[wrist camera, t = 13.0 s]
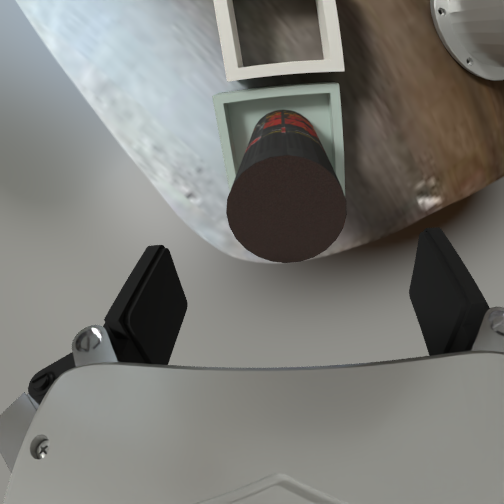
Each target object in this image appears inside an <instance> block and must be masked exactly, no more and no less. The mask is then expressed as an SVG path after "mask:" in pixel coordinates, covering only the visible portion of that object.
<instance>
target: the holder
mask: <svg viewBox="0 0 504 504" xmlns="http://www.w3.org/2000/svg"><path fill="white" fill-rule="evenodd" d="M213 1H214V7H215V13H216V19H217V24H218V30H219V36H220V42H221V48H222V54H223V60H224V66H225V72H226V78H227V82H229V81H235V80H242V79H250V78H257V77H266V76H275V75H286V74H298V73H313V72H339V71H345V69H344V60H343V51H342V43H341V36H340V28H339V21H338V15H337V8H336V2H335V0H315V1H316V7H317V13H318V20H319V26H320V33H321V40H322V48H323V56H324V60H312V61H296V62H284V63H274V64H265V65H256V66H249V67H243V61H242V55H241V49H240V43H239V37H238V31H237V25H236V19H235V13H234V7H233V1H232V0H213Z"/></svg>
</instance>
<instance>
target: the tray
mask: <svg viewBox="0 0 504 504" xmlns="http://www.w3.org/2000/svg"><path fill="white" fill-rule="evenodd" d="M212 97H213V103H214V108H215V114H216V119H217V125H218V130H219V136H220V141H221V147H222V152H223V158H224V163H225V168H226V174H227V179H228V185H229V190H230V191H231V188H232V185H233V182H234V180H235V177H236V174H237V172H238V169H239V167H240V164H241V161H242V159H243V156H244V153H245V151H246V148H247V146H248V143H249V141H250V138H251V135H252V133H253V130H254V128H255V125H256V124H257V123H258V121H259V120H260V119H261V118H262V117H263V116H265V115H266V114H268V113H270V112H273V111H275V110H283V109H284V110H292V111H295V112H297V113H300V114H301V115H303V116H304V117H305V118H307V119H308V121H309V122H310V123H311V124H312V126H313V128H314V130H315V132H316V134H317V136H318V138H319V140H320V142H321V144H322V146H323V148H324V150H325V152H326V154H327V156H328V158H329V161H330V163H331V165H332V167H333V169H334V171H335V173H336V176H337V178H338V180H339V182H340V185H341V187H342V190H343V193H344V196H345V171H344V146H343V128H342V113H341V101H340V89H339V83H336V82H318V83H301V84H289V85H278V86H268V87H260V88H251V89H244V90H237V91H230V92H224V93H218V94H216V95H214V96H212Z"/></svg>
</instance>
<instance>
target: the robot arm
mask: <svg viewBox="0 0 504 504" xmlns="http://www.w3.org/2000/svg"><path fill="white" fill-rule="evenodd" d="M430 5H431V14H432V18H433V22H434V26H435V28H436V30H437V33H438V35H439V37H440V39H441V41H442V42H443V44H444V46H445V48H446V49H447V50H448V52H449V53H450V54H451V56H452V57H453V58H454V59H455V60H456V61H457V62H458V63H459V64H460V65H461V66H462V67H464V68H465V69H466V70H467V71H469V72H470V73H472V74H474V75H476V76H478V77H481V78H484V79H489V80H494V81H498V80H504V0H430ZM438 11H439V12H440V14H439V12H438ZM409 294H410V299H411V301H412V304H413V307H414V310H415V313H416V316H417V319H418V322H419V324H420V327H421V330H422V333H423V336H424V339H425V343H426V346H427V349H428V352H429V355H430V356H424V357H416V358H407V359H399V360H390V361H380V362H370V363H359V364H345V365H330V366H312V367H284V368H283V367H281V368H225V367H195V366H176V365H168V362H169V359H170V357H171V354H172V351H173V348H174V345H175V342H176V339H177V336H178V333H179V330H180V327H181V324H182V322H183V319H184V316H185V313H186V310H187V300H186V297H185V294H184V291H183V289H182V286H181V283H180V280H179V277H178V275H177V272H176V269H175V266H174V263H173V260H172V257H171V254H170V251H169V250H168V249H167V248H165V247H164V246H163V245H154V246H148V247H147V248H146V250H145V252H144V253H143V255H142V256H141V258H140V260H139V261H138V263H137V264H136V266H135V268H134V269H133V271H132V273H131V274H130V276H129V277H128V279H127V281H126V282H125V284H124V286H123V288H122V289H121V291H120V293H119V294H118V296H117V298H116V300H115V301H114V303H113V305H112V306H111V308H110V310H109V312H108V314H107V315H106V317H105V319H104V320H105V324H104V326H103V327H102V326H100V325H91V326H88V327H86V328H84V329H83V330H81V331H80V332H79V333H78V334H77V335H76V336H75V338H74V340H73V342H72V353H70V354H69V355H67V356H65V357H63V358H61V359H60V360H58V361H56V362H54V363H53V364H51V365H49V366H48V367H46V368H44V369H42V370H41V371H39V372H38V373H37V374H35V375H34V377H33V378H32V379H31V381H30V383H29V387H28V392H29V393H28V394H25V392H24V393H23V394H22V395H21V396H20V397H19V398H18V399H16V401H14V402H13V403H12V404H11V405H10V406H9V407H8V408H7V409H6V410H5V411H4V412H3V413H2V414H1V415H0V453H1V454H2V456H3V458H4V460H5V462H6V464H7V466H8V468H9V470H10V471H11V473H12V474H11V477H10V480H9V484H8V487H7V491H6V494H5V498H4V502H3V504H504V308H502V307H493V308H489V306H488V304H487V302H486V300H485V298H484V297H483V295H482V293H481V291H480V290H479V288H478V286H477V284H476V283H475V281H474V279H473V278H472V276H471V274H470V273H469V272H468V269H467V268H466V266H465V265H464V263H463V262H462V260H461V258H460V257H459V255H458V254H457V252H456V251H455V249H454V248H453V246H452V244H451V243H450V242H449V240H448V239H447V237H446V236H445V234H444V233H443V231H442V230H441V229H440V228H426V229H425V230H424V232H421V233H420V235H419V241H418V247H417V253H416V259H415V265H414V270H413V275H412V280H411V285H410V290H409Z"/></svg>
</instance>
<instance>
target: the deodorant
mask: <svg viewBox="0 0 504 504" xmlns="http://www.w3.org/2000/svg"><path fill="white" fill-rule="evenodd" d="M346 215H347V212H346V199H345V196H344V193H343V190H342V187H341V185H340V182H339V180H338V178H337V176H336V173H335V171H334V169H333V167H332V165H331V163H330V161H329V158H328V156H327V154H326V152H325V150H324V148H323V146H322V144H321V142H320V140H319V138H318V136H317V134H316V132H315V130H314V128H313V126H312V124H311V123H310V122H309V121H308V119H307V118H305V117H304V116H303V115H301V114H300V113H297V112H295V111H292V110H284V109H283V110H275V111H273V112H270V113H268V114H266V115H265V116H263V117H262V118H261V119H260V120H259V121H258V123H257V124H256V125H255V128H254V130H253V133H252V135H251V138H250V141H249V143H248V146H247V148H246V151H245V153H244V156H243V159H242V161H241V164H240V167H239V169H238V172H237V174H236V177H235V180H234V182H233V185H232V188H231V191H230V193H229V196H228V199H227V218H228V222H229V226H230V228H231V230H232V232H233V234H234V236H235V237H236V239H237V240H238V241H239V242H240V243H241V244H242V245H243V246H244V247H245V248H246V249H247V250H248V251H250V252H252V253H253V254H255V255H256V256H258V257H261V258H264V259H266V260H269V261H274V262H282V263H290V262H300V261H303V260H307V259H310V258H313V257H315V256H317V255H318V254H320V253H322V252H323V251H325V250H326V249H327V248H328V247H329V246H330V245H331V244H332V243H333V242H334V241H335V240H336V239H337V237H338V236H339V234H340V232H341V231H342V229H343V226H344V223H345V219H346Z"/></svg>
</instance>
